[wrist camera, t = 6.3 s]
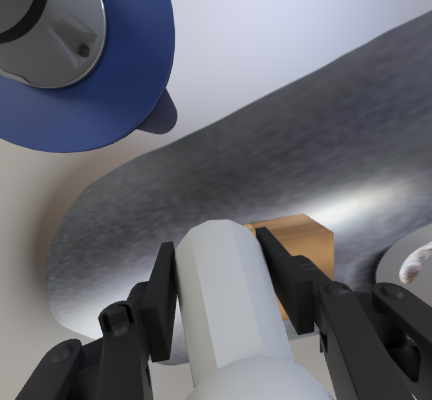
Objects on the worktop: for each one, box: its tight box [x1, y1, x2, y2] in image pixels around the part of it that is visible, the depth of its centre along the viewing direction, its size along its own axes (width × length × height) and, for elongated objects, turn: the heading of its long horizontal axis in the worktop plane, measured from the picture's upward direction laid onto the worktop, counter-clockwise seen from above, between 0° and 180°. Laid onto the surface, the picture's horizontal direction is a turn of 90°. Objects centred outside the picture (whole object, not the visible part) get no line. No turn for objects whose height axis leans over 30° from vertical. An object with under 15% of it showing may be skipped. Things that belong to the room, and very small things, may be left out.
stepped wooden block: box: [242, 214, 334, 320], centre depth 34 cm, size 12×16×8 cm
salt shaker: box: [173, 220, 333, 400], centre depth 10 cm, size 6×6×13 cm
